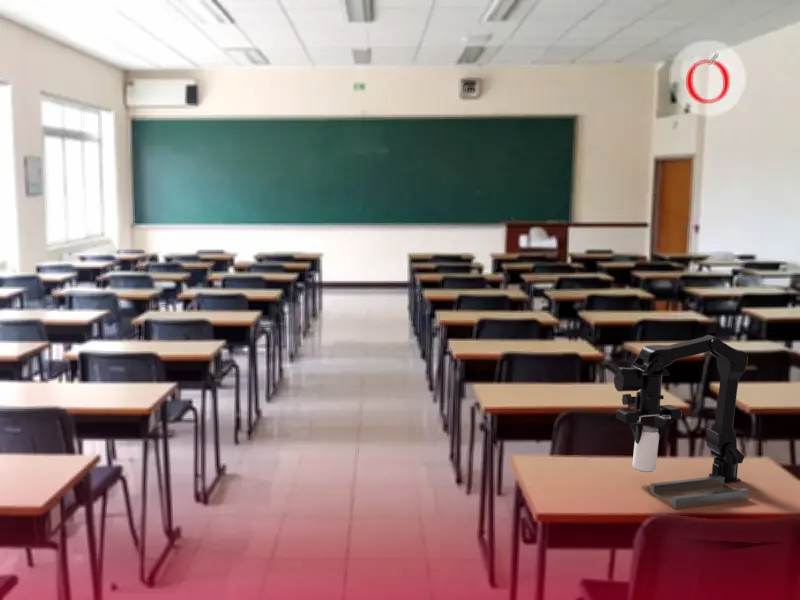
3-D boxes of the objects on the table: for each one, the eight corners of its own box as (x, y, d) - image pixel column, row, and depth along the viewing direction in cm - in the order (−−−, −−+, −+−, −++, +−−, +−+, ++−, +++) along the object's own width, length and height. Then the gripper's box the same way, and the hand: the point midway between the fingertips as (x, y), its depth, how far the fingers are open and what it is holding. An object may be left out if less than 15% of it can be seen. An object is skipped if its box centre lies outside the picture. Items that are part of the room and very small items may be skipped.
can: (656, 473, 215) (661, 433, 213) (633, 471, 217) (637, 431, 215) (653, 465, 222) (658, 426, 220) (631, 463, 223) (635, 424, 221)
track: (720, 485, 219) (720, 475, 219) (747, 500, 209) (748, 489, 209) (650, 493, 212) (650, 483, 212) (675, 509, 202) (676, 498, 201)
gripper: (660, 381, 226) (656, 431, 228) (606, 385, 220) (603, 436, 223) (684, 391, 215) (680, 443, 218) (629, 395, 210) (625, 448, 212)
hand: (647, 442), depth 218 cm, fingers closed on can, 6 cm apart
